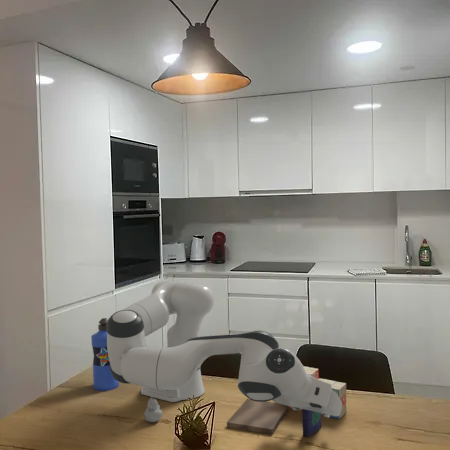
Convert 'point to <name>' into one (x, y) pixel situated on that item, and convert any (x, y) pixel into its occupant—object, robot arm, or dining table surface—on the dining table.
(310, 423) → the flask
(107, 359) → the water bottle
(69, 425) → the dining table surface
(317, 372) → the stack of blocks
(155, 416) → the rubber duck
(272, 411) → the walnut board
